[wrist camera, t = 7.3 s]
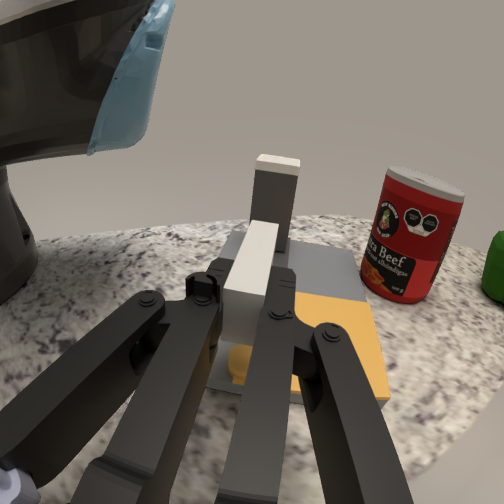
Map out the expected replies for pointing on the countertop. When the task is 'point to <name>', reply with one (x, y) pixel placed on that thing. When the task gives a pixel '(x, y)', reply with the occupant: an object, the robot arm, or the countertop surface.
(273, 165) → the toggle
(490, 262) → the bell pepper
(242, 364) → the panel
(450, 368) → the countertop surface
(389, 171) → the canned food
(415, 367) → the countertop surface
